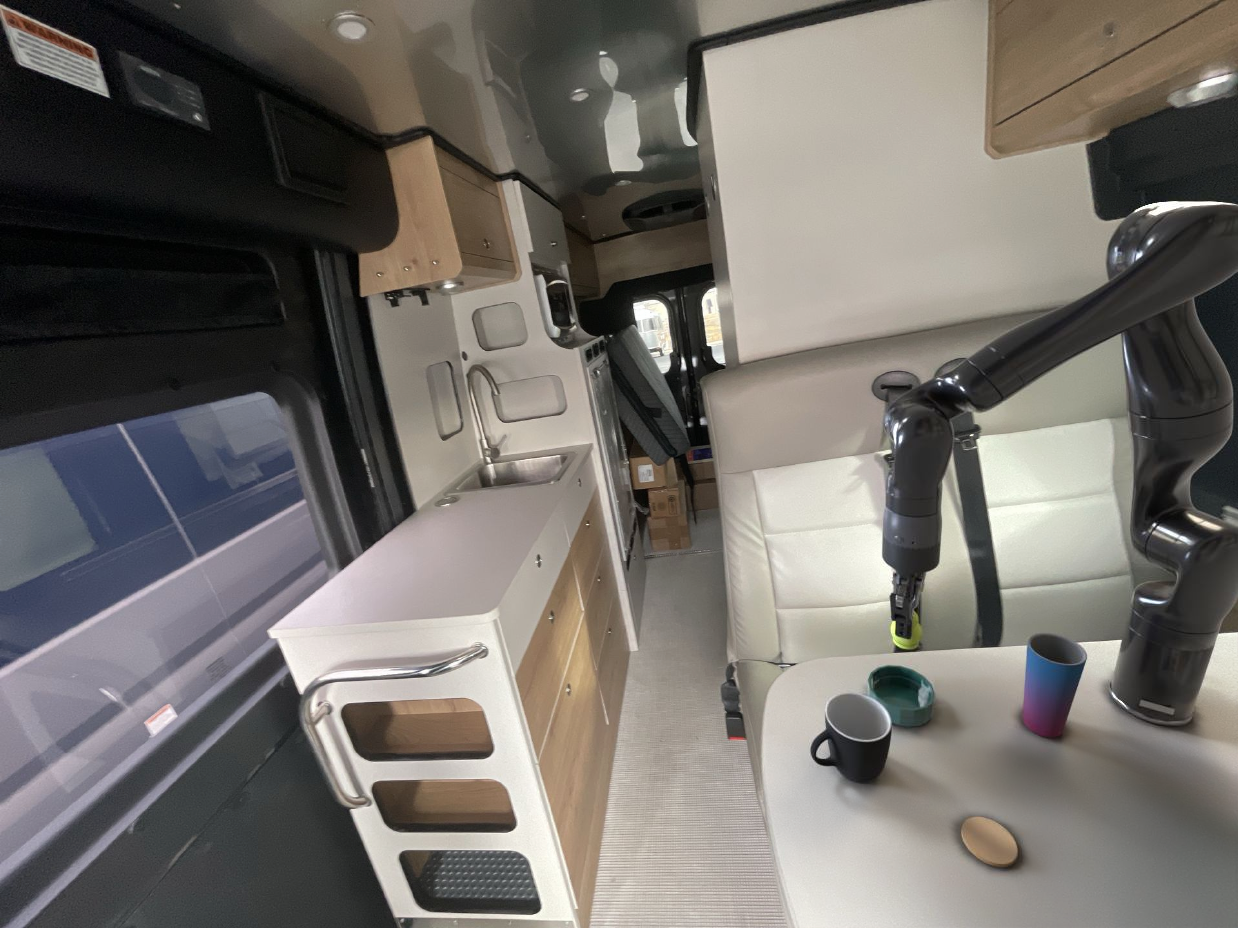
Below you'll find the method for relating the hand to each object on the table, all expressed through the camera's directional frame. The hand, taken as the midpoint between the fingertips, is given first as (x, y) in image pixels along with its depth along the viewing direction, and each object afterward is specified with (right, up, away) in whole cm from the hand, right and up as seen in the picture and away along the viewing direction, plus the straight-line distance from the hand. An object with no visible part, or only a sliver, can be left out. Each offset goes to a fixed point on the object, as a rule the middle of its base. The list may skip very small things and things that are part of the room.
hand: (906, 626), depth 83 cm
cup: (+21, -15, 0) cm, 26 cm away
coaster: (+3, -24, -14) cm, 28 cm away
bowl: (+2, -15, +7) cm, 17 cm away
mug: (-10, -21, -2) cm, 24 cm away
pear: (0, -3, +1) cm, 3 cm away
